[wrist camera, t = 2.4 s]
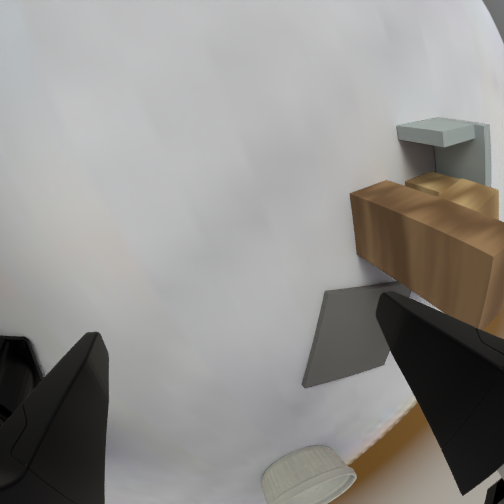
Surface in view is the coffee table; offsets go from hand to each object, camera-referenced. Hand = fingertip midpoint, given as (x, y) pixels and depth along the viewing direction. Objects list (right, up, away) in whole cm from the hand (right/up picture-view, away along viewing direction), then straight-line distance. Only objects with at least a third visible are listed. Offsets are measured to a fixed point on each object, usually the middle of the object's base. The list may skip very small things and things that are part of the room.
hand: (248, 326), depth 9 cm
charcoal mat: (+11, -6, +21) cm, 24 cm away
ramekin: (+7, -29, +29) cm, 42 cm away
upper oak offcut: (+17, +6, +13) cm, 23 cm away
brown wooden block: (+10, +5, +16) cm, 19 cm away
